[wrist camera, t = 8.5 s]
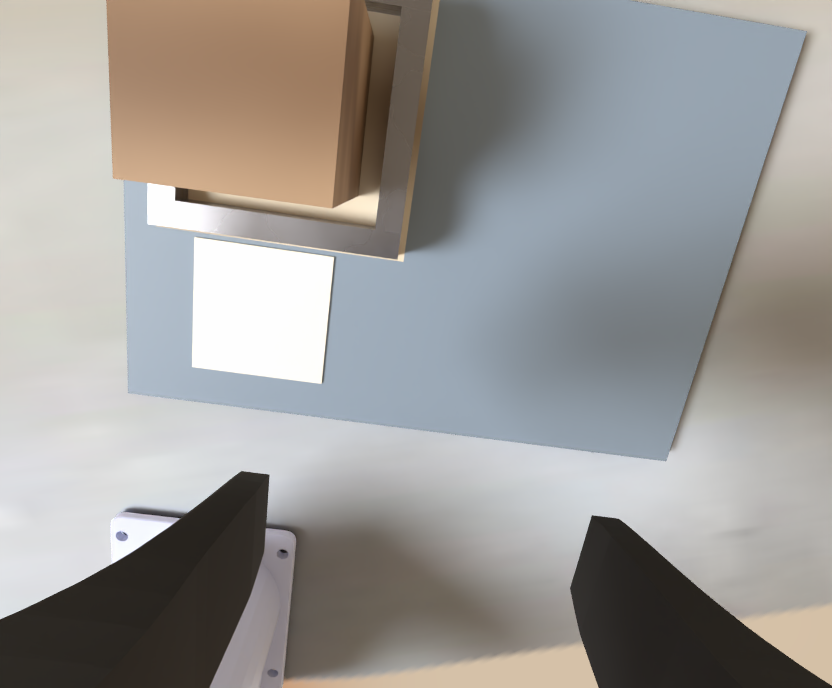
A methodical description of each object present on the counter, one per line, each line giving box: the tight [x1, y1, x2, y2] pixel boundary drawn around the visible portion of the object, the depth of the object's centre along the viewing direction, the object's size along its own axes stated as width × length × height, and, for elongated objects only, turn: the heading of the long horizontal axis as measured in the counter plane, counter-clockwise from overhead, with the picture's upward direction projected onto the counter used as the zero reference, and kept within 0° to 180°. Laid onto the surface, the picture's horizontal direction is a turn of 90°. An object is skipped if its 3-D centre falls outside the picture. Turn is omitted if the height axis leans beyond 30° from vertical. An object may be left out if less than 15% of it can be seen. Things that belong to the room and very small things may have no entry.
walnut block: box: [106, 0, 374, 208], centre depth 13 cm, size 4×4×6 cm
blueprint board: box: [124, 0, 807, 461], centre depth 18 cm, size 16×22×4 cm
